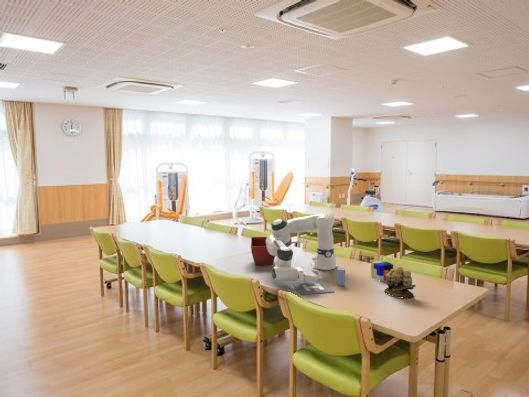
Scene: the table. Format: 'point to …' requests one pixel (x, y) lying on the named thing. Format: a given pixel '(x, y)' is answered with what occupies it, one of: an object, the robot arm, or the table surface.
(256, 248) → the plant pot
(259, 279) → the table surface
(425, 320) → the table surface
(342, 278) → the blue block
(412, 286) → the owl figurine
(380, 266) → the puzzle toy
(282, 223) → the robot arm
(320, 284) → the letter board
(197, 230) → the table surface
